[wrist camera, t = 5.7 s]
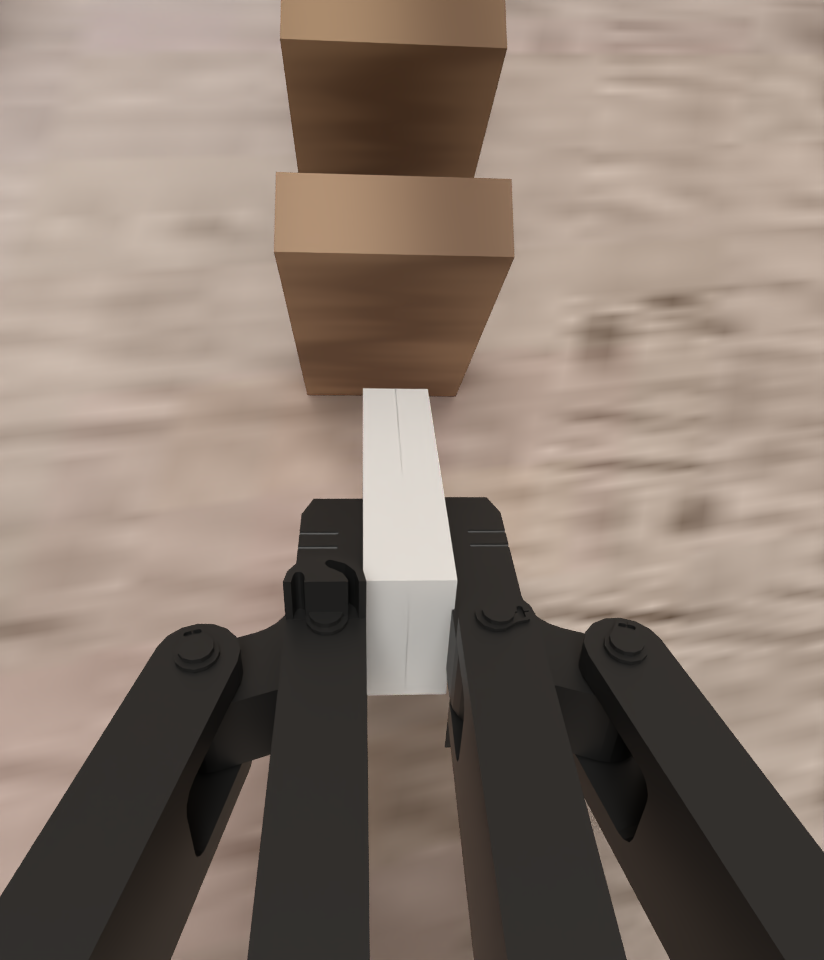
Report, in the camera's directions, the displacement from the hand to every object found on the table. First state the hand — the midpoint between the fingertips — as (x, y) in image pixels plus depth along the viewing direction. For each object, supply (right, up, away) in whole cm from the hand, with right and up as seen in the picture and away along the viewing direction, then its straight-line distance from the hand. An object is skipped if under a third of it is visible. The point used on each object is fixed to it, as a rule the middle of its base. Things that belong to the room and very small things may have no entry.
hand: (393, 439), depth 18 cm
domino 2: (-1, +3, +8) cm, 8 cm away
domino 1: (-1, +8, +9) cm, 12 cm away
